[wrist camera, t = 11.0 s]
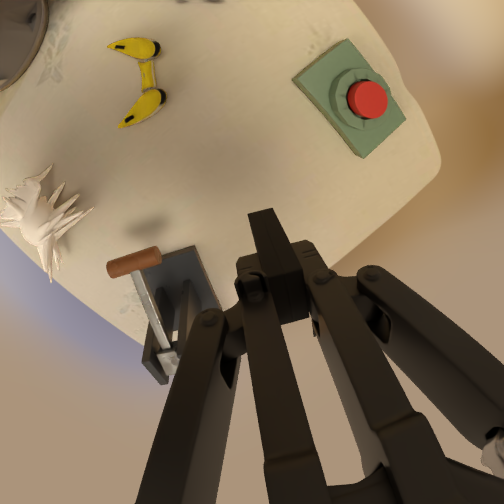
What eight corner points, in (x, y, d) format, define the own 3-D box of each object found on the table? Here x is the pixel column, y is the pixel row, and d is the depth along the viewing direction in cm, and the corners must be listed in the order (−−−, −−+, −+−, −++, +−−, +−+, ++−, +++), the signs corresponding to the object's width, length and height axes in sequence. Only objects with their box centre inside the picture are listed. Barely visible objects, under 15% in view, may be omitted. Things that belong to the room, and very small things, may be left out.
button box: (291, 79, 27) (301, 77, 24) (339, 40, 25) (355, 35, 22) (355, 155, 32) (371, 162, 29) (396, 117, 30) (415, 121, 27)
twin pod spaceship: (179, 114, 27) (161, 119, 24) (131, 124, 29) (112, 130, 26) (168, 29, 22) (150, 25, 19) (121, 46, 24) (101, 45, 21)
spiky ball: (68, 142, 28) (29, 151, 20) (120, 218, 33) (93, 246, 25) (20, 197, 29) (-17, 217, 22) (67, 263, 34) (38, 296, 27)
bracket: (132, 264, 36) (105, 341, 24) (194, 245, 36) (189, 322, 24) (168, 327, 42) (161, 403, 31) (223, 313, 42) (230, 391, 30)
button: (340, 95, 25) (347, 95, 24) (364, 74, 24) (372, 74, 23) (362, 124, 27) (370, 126, 26) (385, 103, 26) (394, 104, 24)
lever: (112, 258, 28) (102, 264, 25) (158, 243, 28) (151, 248, 25) (158, 366, 30) (153, 378, 28) (202, 357, 30) (199, 369, 28)
